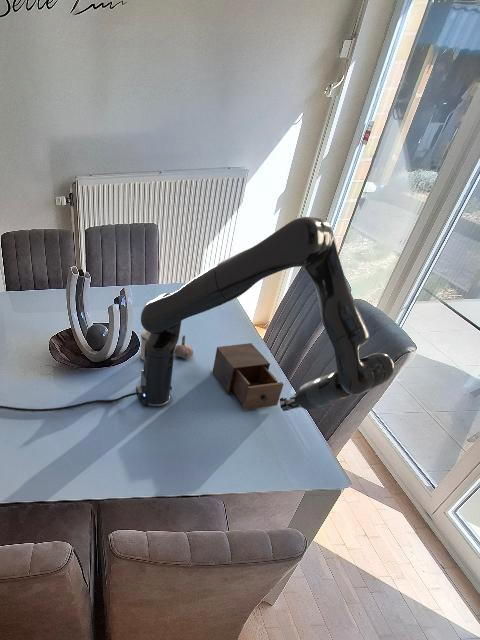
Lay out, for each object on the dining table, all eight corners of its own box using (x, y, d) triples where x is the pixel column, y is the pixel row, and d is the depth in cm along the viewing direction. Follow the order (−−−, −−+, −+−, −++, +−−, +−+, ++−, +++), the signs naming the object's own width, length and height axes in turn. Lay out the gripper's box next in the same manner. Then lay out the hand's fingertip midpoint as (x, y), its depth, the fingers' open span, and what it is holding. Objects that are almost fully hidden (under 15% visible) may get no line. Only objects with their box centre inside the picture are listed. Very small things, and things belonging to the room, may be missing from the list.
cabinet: (263, 389, 155) (270, 363, 148) (228, 394, 154) (233, 367, 147) (245, 368, 165) (251, 342, 158) (212, 372, 164) (216, 346, 157)
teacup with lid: (145, 365, 168) (146, 334, 160) (136, 353, 174) (137, 323, 166) (175, 359, 171) (178, 329, 162) (165, 348, 177) (168, 318, 168)
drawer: (278, 407, 146) (285, 385, 141) (245, 412, 145) (250, 390, 139) (259, 383, 156) (264, 362, 150) (227, 387, 155) (232, 366, 149)
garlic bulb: (169, 353, 174) (171, 332, 168) (186, 350, 175) (189, 329, 170) (177, 362, 169) (180, 341, 163) (195, 359, 170) (198, 338, 165)
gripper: (342, 374, 116) (304, 391, 133) (294, 381, 115) (261, 397, 132) (346, 404, 116) (307, 417, 134) (298, 410, 115) (265, 423, 132)
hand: (284, 407), depth 133 cm, fingers closed
